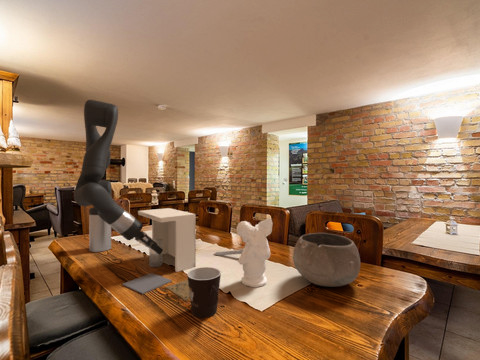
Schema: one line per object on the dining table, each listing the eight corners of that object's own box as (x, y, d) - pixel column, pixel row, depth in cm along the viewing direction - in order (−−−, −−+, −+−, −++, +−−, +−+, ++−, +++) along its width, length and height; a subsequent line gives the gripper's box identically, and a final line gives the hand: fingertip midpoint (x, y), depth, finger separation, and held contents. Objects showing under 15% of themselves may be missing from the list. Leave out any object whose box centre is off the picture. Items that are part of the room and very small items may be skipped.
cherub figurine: (234, 284, 80) (233, 217, 80) (246, 271, 92) (245, 212, 91) (270, 290, 76) (269, 219, 76) (278, 275, 87) (277, 213, 87)
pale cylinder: (146, 265, 97) (146, 240, 97) (157, 261, 101) (157, 237, 101) (154, 268, 94) (154, 242, 94) (165, 264, 98) (165, 239, 98)
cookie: (195, 277, 86) (195, 275, 86) (217, 288, 78) (217, 285, 78) (164, 288, 78) (164, 285, 78) (184, 302, 69) (184, 299, 69)
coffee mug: (189, 303, 68) (189, 267, 68) (220, 302, 69) (220, 266, 68) (183, 329, 56) (183, 286, 56) (221, 327, 57) (221, 284, 57)
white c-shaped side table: (138, 258, 105) (138, 210, 105) (169, 252, 114) (169, 208, 114) (160, 276, 87) (160, 217, 86) (195, 266, 96) (195, 214, 95)
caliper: (257, 260, 104) (257, 245, 104) (256, 261, 103) (256, 246, 103) (214, 254, 112) (214, 240, 112) (213, 255, 111) (213, 241, 111)
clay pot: (356, 274, 88) (356, 233, 88) (365, 303, 68) (365, 249, 68) (296, 267, 95) (296, 229, 95) (288, 291, 75) (288, 242, 75)
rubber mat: (122, 284, 79) (122, 283, 79) (151, 274, 88) (151, 272, 88) (142, 294, 73) (142, 292, 73) (171, 281, 82) (171, 280, 82)
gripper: (139, 219, 86) (170, 245, 94) (128, 214, 97) (156, 238, 105) (123, 236, 83) (157, 262, 91) (113, 229, 94) (143, 253, 101)
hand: (156, 249), depth 98 cm, fingers open, 8 cm apart
